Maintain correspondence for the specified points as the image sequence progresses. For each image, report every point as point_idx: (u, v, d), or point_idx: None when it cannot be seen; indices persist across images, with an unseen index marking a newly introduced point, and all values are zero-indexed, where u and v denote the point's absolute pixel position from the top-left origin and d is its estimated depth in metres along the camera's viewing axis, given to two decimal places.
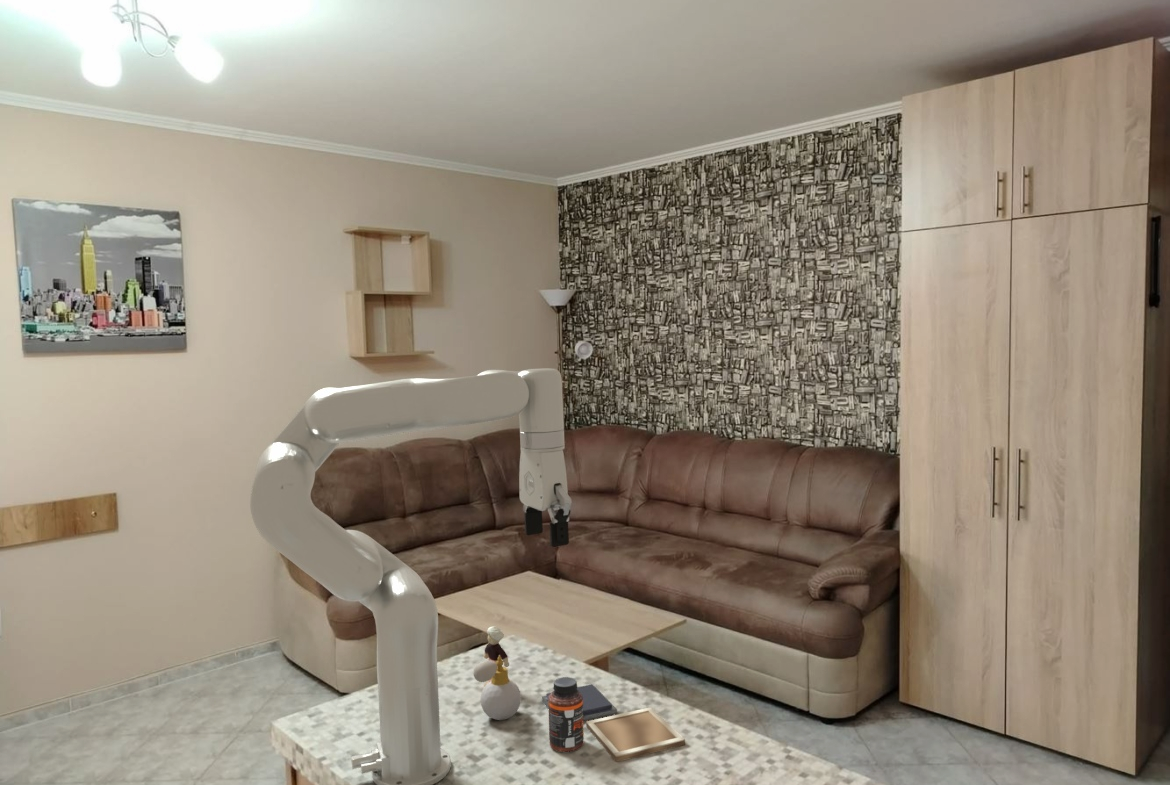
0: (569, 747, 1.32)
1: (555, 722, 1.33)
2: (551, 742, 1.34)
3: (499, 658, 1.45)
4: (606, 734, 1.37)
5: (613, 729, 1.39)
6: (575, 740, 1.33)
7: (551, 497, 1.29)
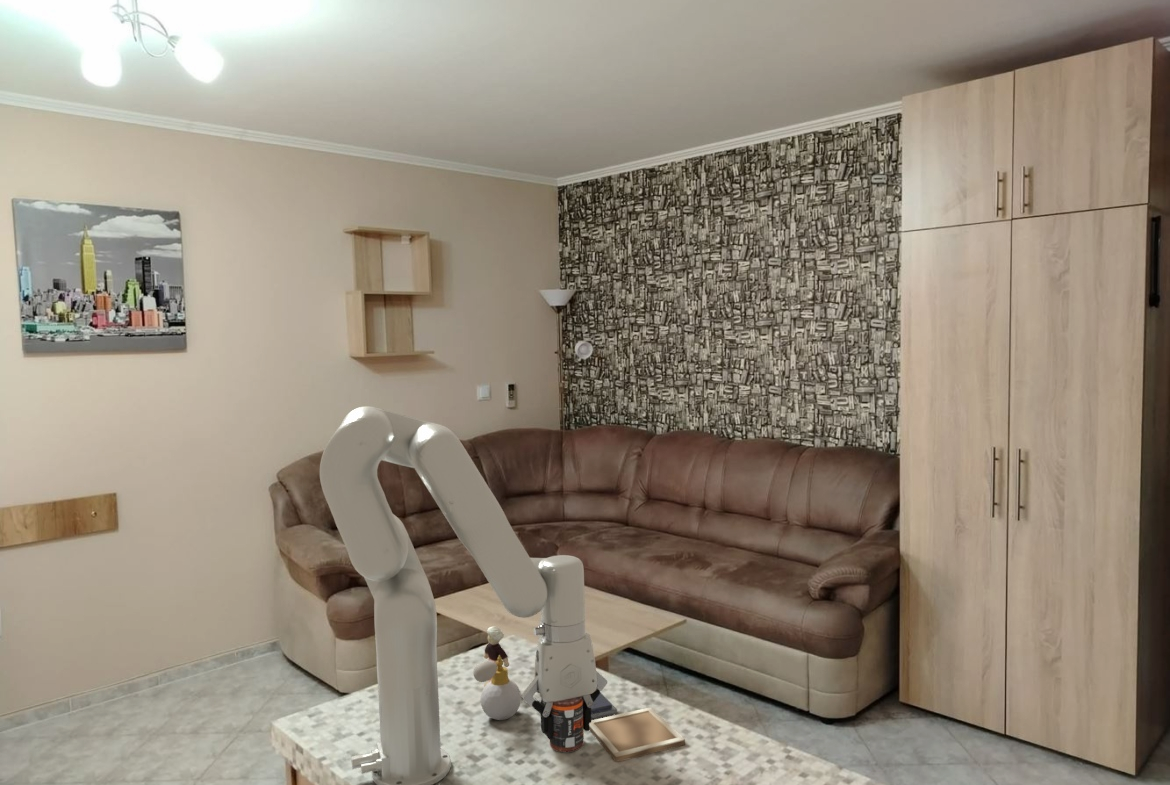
0: (569, 747, 1.32)
1: (555, 722, 1.33)
2: (551, 742, 1.34)
3: (499, 658, 1.45)
4: (606, 734, 1.37)
5: (613, 729, 1.39)
6: (575, 740, 1.33)
7: None
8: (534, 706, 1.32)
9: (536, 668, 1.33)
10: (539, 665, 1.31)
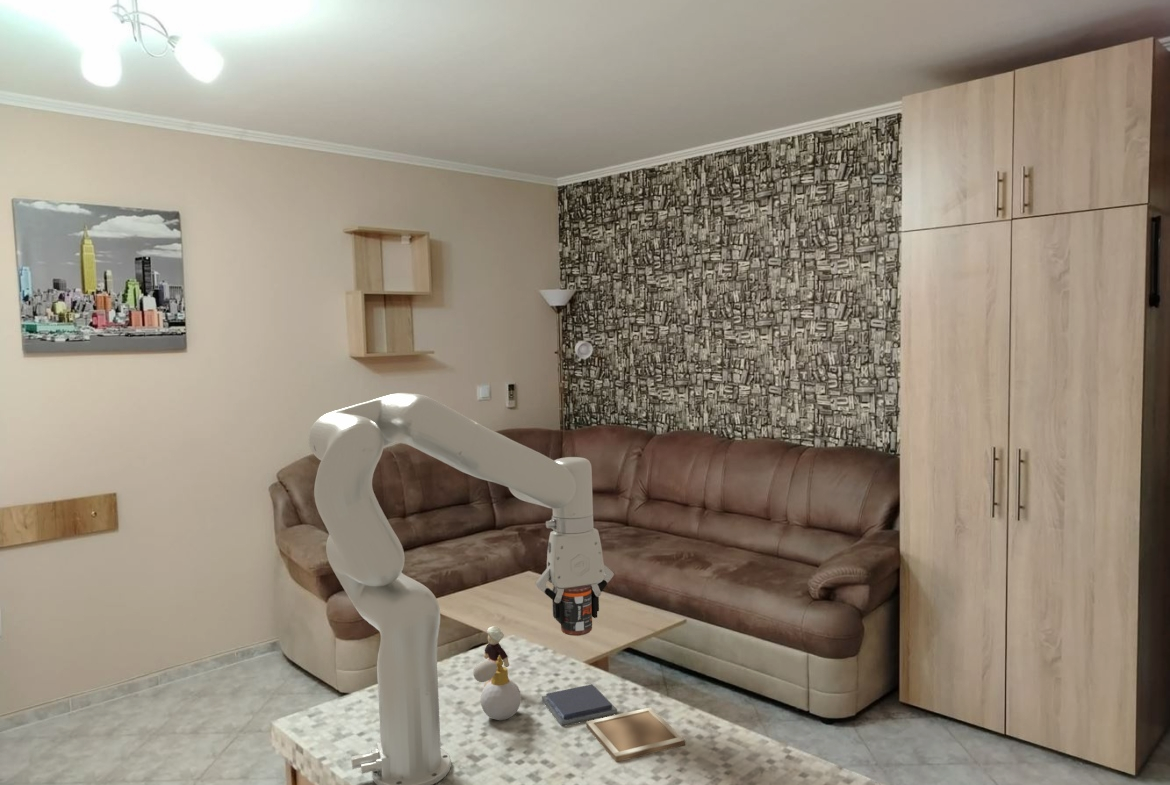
0: (579, 630, 1.44)
1: (566, 608, 1.45)
2: (562, 627, 1.46)
3: (499, 658, 1.45)
4: (606, 734, 1.37)
5: (613, 729, 1.39)
6: (584, 624, 1.45)
7: None
8: (546, 593, 1.44)
9: (548, 558, 1.45)
10: (551, 555, 1.44)
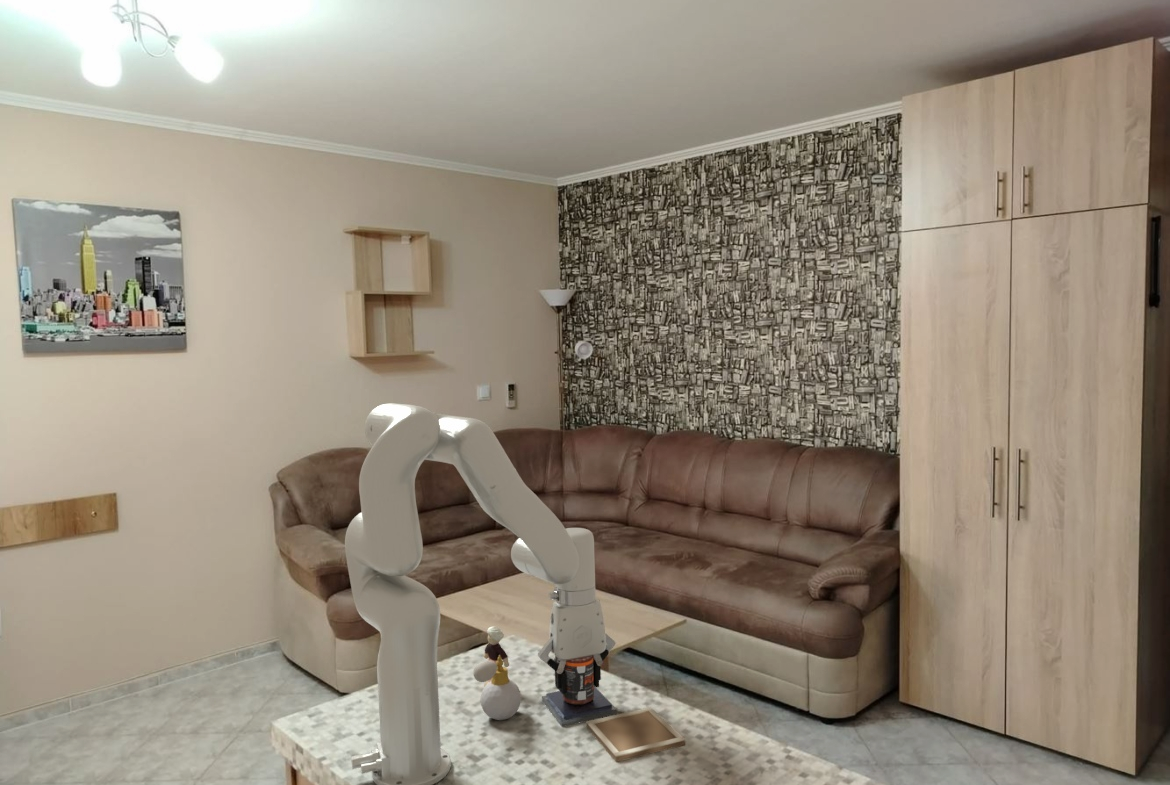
0: (581, 700, 1.46)
1: (568, 677, 1.46)
2: (564, 696, 1.47)
3: (499, 658, 1.45)
4: (606, 734, 1.37)
5: (613, 729, 1.39)
6: (586, 693, 1.46)
7: None
8: (549, 664, 1.45)
9: (550, 629, 1.47)
10: (554, 626, 1.45)
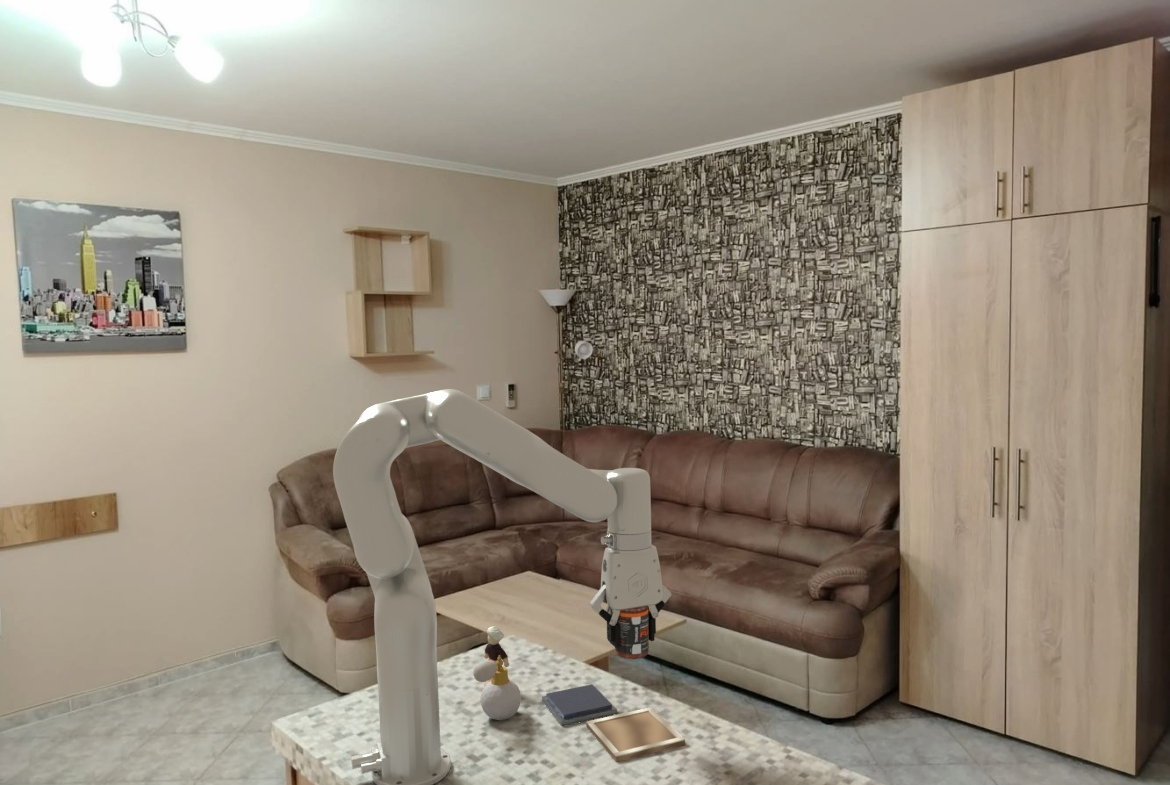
0: (636, 654, 1.34)
1: (622, 629, 1.34)
2: (617, 650, 1.35)
3: (499, 658, 1.45)
4: (606, 734, 1.37)
5: (613, 729, 1.39)
6: (642, 647, 1.34)
7: None
8: (602, 614, 1.33)
9: (603, 577, 1.35)
10: (607, 573, 1.33)
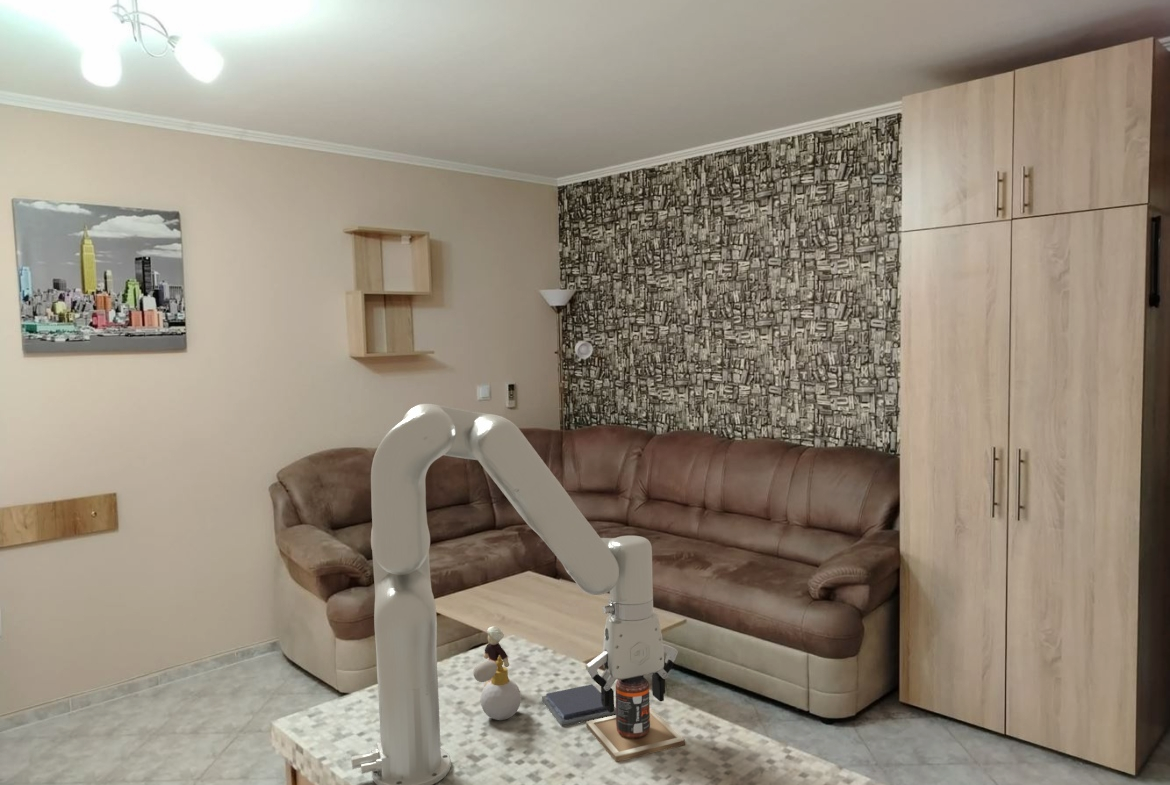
0: (637, 733, 1.35)
1: (623, 708, 1.35)
2: (619, 728, 1.36)
3: (499, 658, 1.45)
4: (606, 734, 1.37)
5: (613, 729, 1.39)
6: (643, 726, 1.35)
7: None
8: (596, 680, 1.34)
9: (605, 646, 1.35)
10: (609, 643, 1.34)
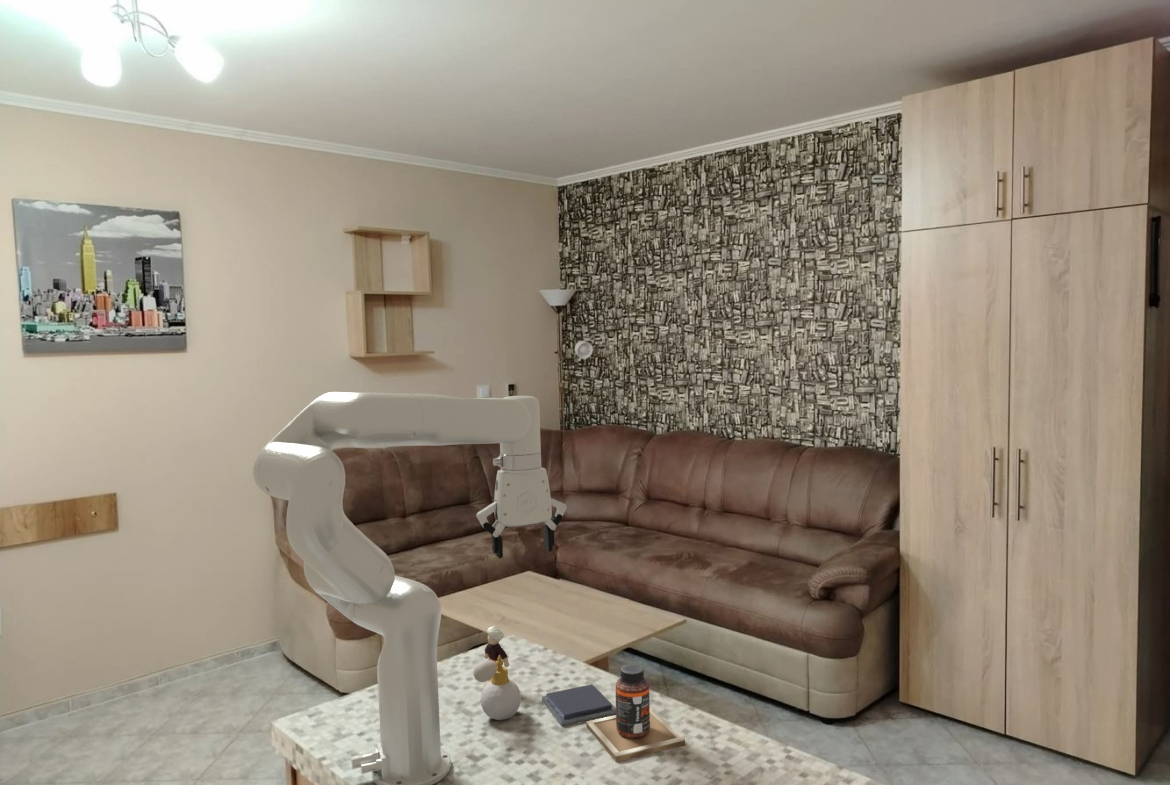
0: (637, 733, 1.35)
1: (623, 709, 1.35)
2: (619, 728, 1.36)
3: (499, 658, 1.45)
4: (606, 734, 1.37)
5: (613, 729, 1.39)
6: (643, 726, 1.35)
7: None
8: (485, 526, 1.42)
9: (495, 496, 1.44)
10: (497, 492, 1.43)
